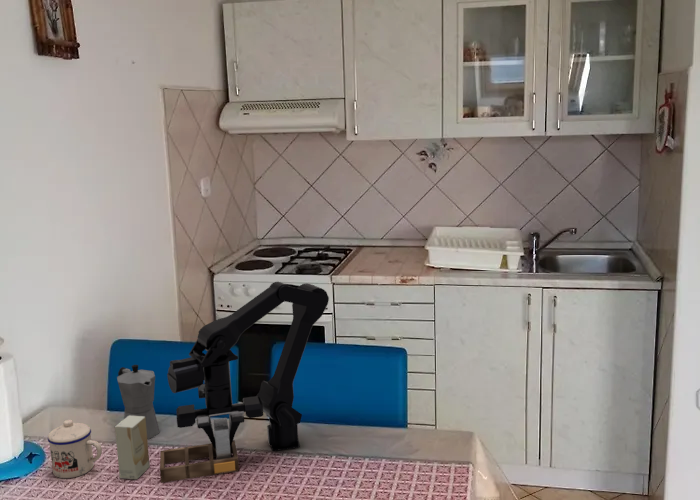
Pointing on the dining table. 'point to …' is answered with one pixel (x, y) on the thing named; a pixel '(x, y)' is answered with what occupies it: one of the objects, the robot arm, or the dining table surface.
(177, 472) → the rack
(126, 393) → the coffeepot
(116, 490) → the dining table surface
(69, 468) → the teacup with lid
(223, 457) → the grey metallic rectangular block
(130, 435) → the skincare box
